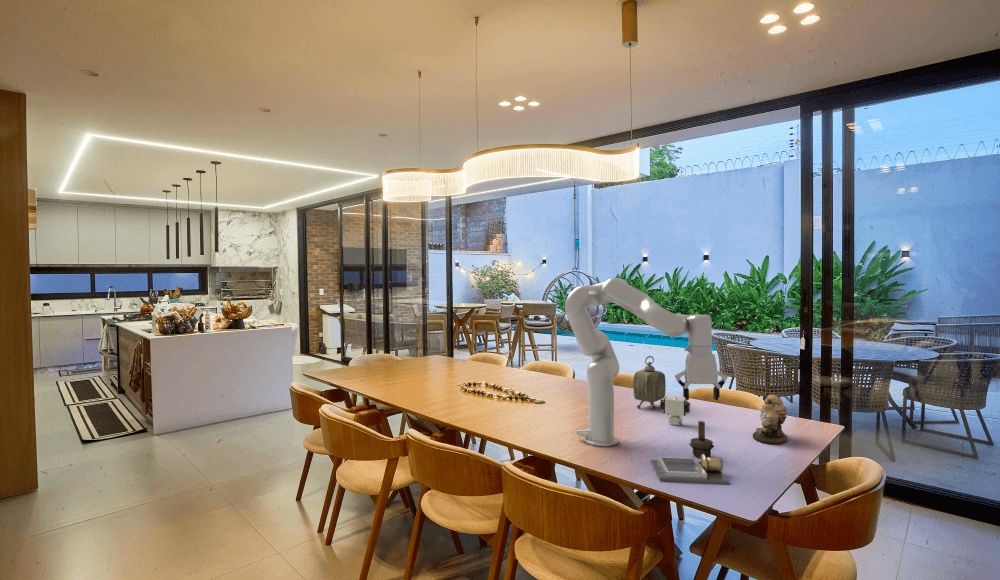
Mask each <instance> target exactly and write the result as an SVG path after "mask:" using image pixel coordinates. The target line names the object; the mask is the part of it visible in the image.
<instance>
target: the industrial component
mask: <svg viewBox="0 0 1000 580" xmlns="http://www.w3.org/2000/svg"><path fill="white" fill-rule="evenodd" d="M705 425H706V422H705V421H702V420H700V421H697V426H698V427H697V430H698V431H697V433H698V434H697V437H694V438H691V439H690V443H688V444H689V446H690V448H691V449H692V456H693V455H694V456H693V457H695V458H696V457H697V458H699V459H701V454H705V456H706V458H712V457H711V455H712V453H711V450H713V449H714V448H715V445H714V444H713V443H714V442H713V440H710V439H708V438H706V426H705Z"/></svg>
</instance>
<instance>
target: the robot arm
mask: <svg viewBox="0 0 1000 580" xmlns="http://www.w3.org/2000/svg"><path fill="white" fill-rule="evenodd" d="M609 303H614V304H615V305H617V306H619V307H621V308H623V309H624V310H625V311H628V312H630V313H631V314H633V315H635V316H636V317H637V318H639V319H640V320H642V321H643V322H645V323H646V324H648V325H649V326H651V327H652V328H654V329H656V330H657V331H660V332H662V334H663V333H664V335H666V336H669V337H672V338H673V337H674V338H675V337H679V336H682V335H688V346H685V347H684V352H688V353H687V354H686V358H685V364H684V365H685V366H684V367H685V368H684V370H682V371H681V372H679V373H677V374H675V375H674V378H675V380H676V382H677V383H678V384H679V385H680V386H681V387H682V389H683V390H682V396H683V398H684V399H686V400H687V401H689V400H690V390H689V387H690V385H691V384H692V385H706V384H707V385H713V391H712V392H713V393H712V394H713V400H715V401H719V398H720V395H721V394H720V389H721V388H722V387H723V385H725V384H726V383H725V382H726V381H727V379H728V375H726V374H725V373H722V372H721V371H718V366H717V365H718V364H717V359H716V355H715V354H714V353H713V346H712V345H713V341H712V340H713V338H712V336H713V333H712V332H713V331H712V327H713V326H712V316H710V315H708V314H683V313H673V312H671V311H669V310H667V309H666V308H664V307H662V306H661V305H659V304H658V303H656V302H655V301H654V300H653V299H652V298H651V297H650V296H649V295H648V294H646V293H645V292H643V291H641V290H639V289H637V288H635V287H634V286H631V284H629V283H628V282H627V281H626V280H625V279H622V278H621V277H620V278H619V277H618V278H617V277H611V278H608V279H606V280H605V281H604V282H600V283H596V284H592V285H579V286H577V287H575V288H573V290H571V291H570V292H569V294H568V296H567V297H566V300H565V304H564V307H565V313H566V317H567V319H568V322H569V324H570V327H571V329H572V333H573V335H574V337H575V338H574V339H575V340H576V342H577V345H578V348H579V350H580V352H581V353H582V354H583V355H584V356H586V357H591V360H592V361H591V362H590V363H589V364H588V366H587V370H586V380H587V381H586V382H587V391H588V392H587V393H588V398H587V399H588V426H587V428H584V430H583V429H576V435H577V436H579V437H584V442H585V443H586V444H588V445H591V446H595V445H596V446H597V447H612V445H613V446H616V445H617V444H619V438H618V437H616V436H615V406H614V405H615V392H614V391H615V390H614V383H613V380H614V379H615V378H616V377H617V376H618V375H619V373H620V363H619V360H618V357H617V356H616V352H615V350H614V348H613V346H612V343H611V341H610V338H609V337H608V335H607V334H606V333H605V332H603V331H601V330H598V329H597V328H596V326H595V323H594V321H593V319H592V317H591V315H590V313H589V311H588V308H593V307H597V306H600V305H606V304H609ZM683 376H684V379H685V380H684V382H683V381H682V379H681V378H682V377H683ZM719 377H721V379H720V380H719ZM596 446H595V447H596Z"/></svg>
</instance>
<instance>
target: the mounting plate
mask: <svg viewBox="0 0 1000 580" xmlns="http://www.w3.org/2000/svg"><path fill="white" fill-rule="evenodd" d="M651 463H652V464H651ZM650 464H651V465H653V466H652V468H653V467H654V468H653V470H654V469H655V470H654V472H655V475H656V476H657V479H658V478H659V479H658V480H660V482H667V481H669V483H692V484H713V485H715V484H716V485H717V484H718V485H729V484H730V480H729V478H727V477H726V476H725V474H724V473H723V468H724V466H723V459H722V458H721V457H708V458H706V456H705V454H701V458H700V461H698V459H697V458H696V457H681V456H678V457H677V456H657V459H650ZM670 481H671V482H670Z"/></svg>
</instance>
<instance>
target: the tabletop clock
mask: <svg viewBox="0 0 1000 580" xmlns="http://www.w3.org/2000/svg"><path fill="white" fill-rule="evenodd" d="M649 358H651V359H652V361H648V363H647V360H648V359H649ZM654 361H655V359H654V357H653V356H652V355H648V356H647V357H645V360H644V362H645V364H646V365H645V366H644V368H643V369H640V370H637V371H636V372H634V375H633V387H632V388H633V398H634V399H635V400H637V401H640V402H639V404H638V405H637V409H640V408H642V407H641V406H642V404H643V403H645V402H647V403H649V404H650V405H651V407H652V409H653V408H654V409H656V407H657V406H656V405H655V404H654V403H655V402H658V401H661V400H664V398H665V397H666V389H667V388H666V383H667V382H666V374H665V373H664V372H662V371H660V370H659V371H658V370H656V368H655V367H654V366H653V364H654Z"/></svg>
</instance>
